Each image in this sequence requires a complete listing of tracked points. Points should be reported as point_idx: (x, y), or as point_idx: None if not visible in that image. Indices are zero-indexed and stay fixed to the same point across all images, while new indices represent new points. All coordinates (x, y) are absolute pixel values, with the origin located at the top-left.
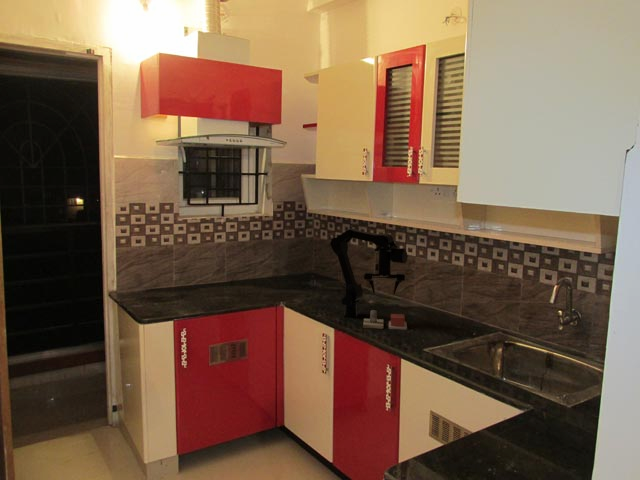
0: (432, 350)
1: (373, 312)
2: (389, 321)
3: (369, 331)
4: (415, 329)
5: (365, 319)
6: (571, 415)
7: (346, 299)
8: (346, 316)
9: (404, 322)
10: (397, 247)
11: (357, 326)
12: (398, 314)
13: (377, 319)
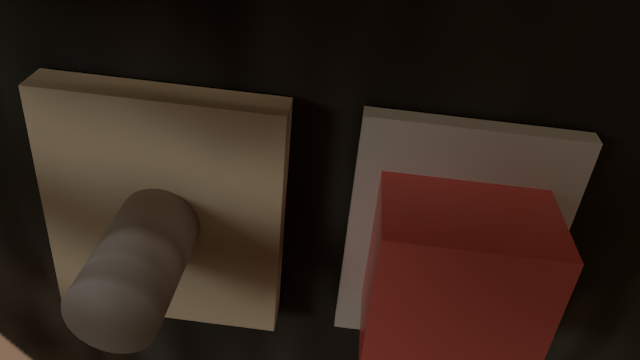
0: None
1: (114, 347)
2: (369, 141)
3: (152, 348)
4: (620, 315)
5: (47, 129)
6: None
7: None
8: None
9: (564, 179)
10: None
11: (10, 222)
12: (491, 269)
13: (205, 128)
